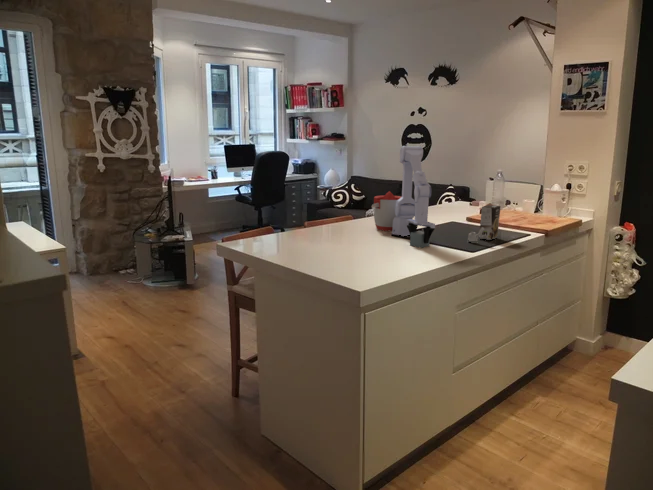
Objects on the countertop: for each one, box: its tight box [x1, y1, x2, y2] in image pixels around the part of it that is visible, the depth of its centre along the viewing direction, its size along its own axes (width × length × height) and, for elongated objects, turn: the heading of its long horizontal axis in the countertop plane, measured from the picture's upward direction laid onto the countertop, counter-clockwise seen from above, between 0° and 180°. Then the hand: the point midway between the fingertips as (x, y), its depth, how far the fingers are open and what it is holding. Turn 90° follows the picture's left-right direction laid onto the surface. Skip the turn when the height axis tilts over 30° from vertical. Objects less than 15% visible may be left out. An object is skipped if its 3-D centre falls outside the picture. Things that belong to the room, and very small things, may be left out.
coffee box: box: [478, 204, 501, 239], centre depth 248 cm, size 9×6×16 cm
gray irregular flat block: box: [467, 227, 485, 241], centre depth 238 cm, size 7×2×8 cm, turn 51°
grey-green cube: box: [409, 230, 431, 249], centre depth 232 cm, size 6×6×6 cm
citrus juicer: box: [371, 190, 405, 232], centre depth 266 cm, size 16×17×20 cm
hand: (419, 241), depth 232 cm, fingers open, 7 cm apart
